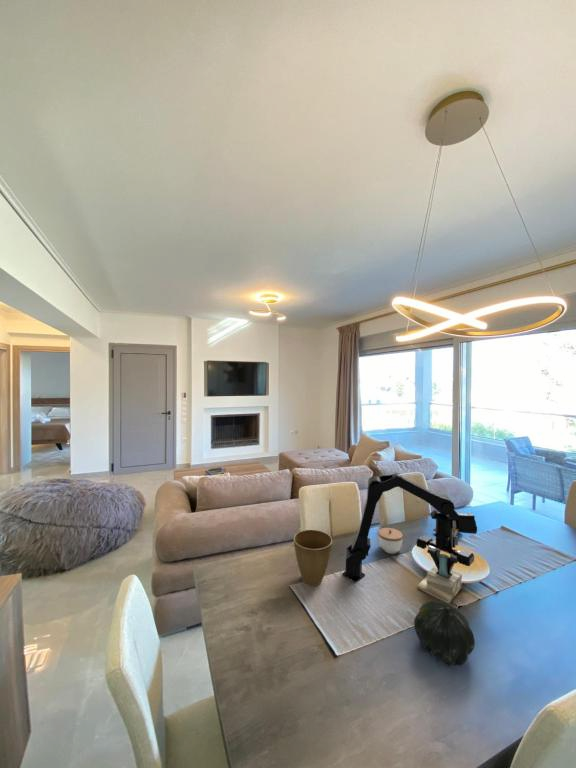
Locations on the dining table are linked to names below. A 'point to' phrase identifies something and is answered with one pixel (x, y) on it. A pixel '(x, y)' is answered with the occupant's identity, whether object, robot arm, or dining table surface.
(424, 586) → the socket board
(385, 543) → the lidded jar
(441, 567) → the peg
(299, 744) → the dining table surface
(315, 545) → the plant pot
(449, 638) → the squash
